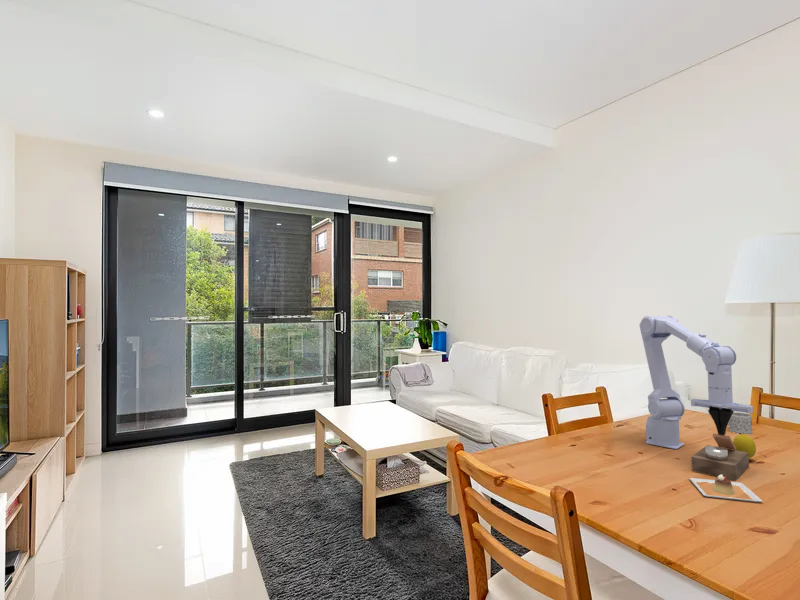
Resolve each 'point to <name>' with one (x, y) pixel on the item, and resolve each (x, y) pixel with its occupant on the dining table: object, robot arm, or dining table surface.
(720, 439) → the bar
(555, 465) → the dining table surface
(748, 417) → the mug
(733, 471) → the socket block
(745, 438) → the lemon
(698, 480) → the dessert
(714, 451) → the silver knob
